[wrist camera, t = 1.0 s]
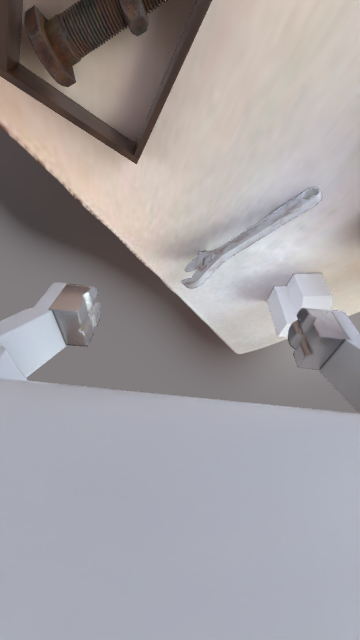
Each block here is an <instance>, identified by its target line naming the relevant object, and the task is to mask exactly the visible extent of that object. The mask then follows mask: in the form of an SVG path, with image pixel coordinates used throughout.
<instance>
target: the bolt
mask: <svg viewBox="0 0 360 640" xmlns="http://www.w3.org/2000/svg"><path fill="white" fill-rule="evenodd" d="M167 1H168V0H167ZM162 2H163V3H165V0H80V2H79V1H78V2H77V3H78V5H77V4H76V3H75V4H74V5H75V6H74V5H72V6H71V7H72V8H71V7H69V10H68V9H66V12H65V11H64V12H63V13H61V14H59V15H55V16H54V17H53V18H51V19H50V20H49V21H48V20H47V18H46V17H45V16H44V15H43V14H42V13H41V12H40V11H39V10H38V9H37V8H36V7H35V6H33V7H31V8H30V9H29V10H28V11H26V13H25V28H26V31H27V33H28V36H29V38H30V41H31V43H32V45H33V47H34V49H35V51H36V54H37V55H38V57H39V59H40V61H41V62H42V64H43V65H44V66H45V68H46V69H47V71H48V72H49V73H50V75H51V76H52V77H53V78H54V79H55V81H56V82H57V83H58V84H60V85H62V86H65V87H69V86H71V85H73V84H74V83H76V80H75V76H74V71H73V67H72V66H73V65H75V64H76V63H78V62H79V61H80V60H81V58H82V57H84V56H85V55H87V53H88V54H89V53H90V52H92V50H95V48H96V49H97V48H98V46H99V47H100V44H101V45H103V43H105V41H108V39H109V40H110V36H111V37H112V38H113V35H114V36H116V33H117V34H118V33H119V31H120V32H121V29H122V30H124V27H125V28H127V26H129V28H130V30H131V32H132V33H133V34H134V35H136V36H139V35H141V34H142V33H144V32H146V31H147V28H148V24H149V23H148V18H147V12H148V13H150V10H151V11H153V8H154V9H156V6H157V7H159V4H160V5H162Z"/></svg>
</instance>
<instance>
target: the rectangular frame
mask: <svg viewBox="0 0 360 640" xmlns="http://www.w3.org/2000/svg"><path fill="white" fill-rule="evenodd" d="M211 2H212V0H197V2H196V4H195V7H194V9H193V11H192V14H191V16H190V18H189V21H188V23H187V25H186V28H185V30H184V32H183V35H182V37H181V39H180V42H179V44H178V46H177V49H176V51H175V53H174V56H173V58H172V60H171V63H170V65H169V67H168V70H167V72H166V74H165V77H164V79H163V81H162V83H161V86H160V88H159V90H158V93H157V95H156V97H155V100H154V102H153V104H152V107H151V109H150V111H149V114H148V116H147V118H146V121H145V123H144V125H143V128H142V130H141V132H140V135H139V137H138V139H137V142H136V144H135V143H133V142H132V141H131V140H129V139H128V138H126V137H125V136H123V135H122V134H120V133H119V132H118V131H116V130H115V129H113V128H112V127H110V126H109V125H107V124H106V123H105V122H103V121H102V120H100V119H99V118H97V117H96V116H94V115H93V114H92V113H90V112H89V111H87V110H86V109H84V108H83V107H81V106H80V105H79V104H77V103H76V102H74V101H73V100H71V99H70V98H68V97H67V96H66V95H64V94H63V93H61V92H60V91H58V90H57V89H55V88H54V87H52V86H51V85H50V84H48V83H47V82H45V81H44V80H42V79H41V78H39V77H38V76H37V75H35V74H34V73H32V72H31V71H29V70H28V69H26V68H25V67H24V66H22V65H21V64H19V55H20V39H21V24H22V9H23V0H0V76H1V77H3V78H4V79H6V80H7V81H9V82H10V83H12V84H13V85H15V86H16V87H18V88H20V89H21V90H23V91H24V92H26V93H27V94H29V95H30V96H32V97H33V98H35V99H36V100H38V101H40V102H41V103H43V104H44V105H46V106H47V107H49V108H50V109H52V110H53V111H55V112H57V113H58V114H60V115H61V116H63V117H64V118H66V119H67V120H69V121H70V122H72V123H74V124H75V125H77V126H78V127H80V128H81V129H83V130H84V131H86V132H87V133H89V134H91V135H92V136H94V137H95V138H97V139H98V140H100V141H101V142H103V143H104V144H106V145H108V146H109V147H111V148H112V149H114V150H115V151H117V152H118V153H120V154H121V155H123V156H125V157H126V158H128V159H129V160H131V161H132V162H134V163H135V164H137V162H138V160H139V158H140V156H141V154H142V152H143V149H144V147H145V145H146V143H147V141H148V138H149V136H150V134H151V132H152V130H153V128H154V125H155V123H156V121H157V119H158V117H159V115H160V112H161V110H162V108H163V106H164V104H165V102H166V99H167V97H168V95H169V93H170V91H171V88H172V86H173V84H174V82H175V80H176V78H177V75H178V73H179V71H180V69H181V67H182V65H183V62H184V60H185V58H186V56H187V54H188V52H189V49H190V47H191V45H192V43H193V41H194V38H195V36H196V34H197V32H198V30H199V28H200V25H201V23H202V21H203V19H204V17H205V15H206V12H207V10H208V8H209V6H210V4H211Z"/></svg>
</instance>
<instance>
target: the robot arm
mask: <svg viewBox="0 0 360 640" xmlns="http://www.w3.org/2000/svg"><path fill="white" fill-rule="evenodd" d="M97 296H98V294H97V290H96V288H95V287H93V286H85V285H76V284H67V283H58V282H56V283H53V284H52V285H51V287H50V288H49V289H48V290H47V292H46V293H45V294H44V295H43V297H42V298H41V299H40V300H39V302H38V303H37V304H36V305H35V306H34V308H28V309H26V310H23V311H21V312H19V313H17V314H15V315H13V316H10V317H8V318H6V319H4V320H2V321H0V640H360V334H359V333H358V331H357V330H356V328H355V327H354V325H353V324H352V322H351V321H350V319H349V318H348V316H347V315H346V313H344V312H343V311H338V310H321V309H311V308H301V309H300V310H299V312H298V313H297V318H298V320H296V321H295V322H293V323H292V324H291V326H290V328H289V331H288V341H289V344H290V346H291V347H292V348H294V349H295V351H294V353H293V355H294V358H295V361H296V364H297V366H298V367H299V368H306V369H315V370H320V371H319V372H320V373H321V374H322V375H323V376H324V377H325V378H326V379H327V380H328V381H329V382H330V383H331V384H332V385H333V386H334V387H335V389H336V390H337V391H338V392H339V393H340V394H341V395H342V396H343V397H344V398H345V399H346V400H347V401H348V402H349V403H350V404H351V405H352V407H353V408H354V409H355V410H356V411H357V413H347V412H337V411H327V410H317V409H307V408H297V407H287V406H276V405H266V404H255V403H245V402H235V401H225V400H215V399H204V398H194V397H184V396H175V395H165V394H155V393H145V392H135V391H124V390H114V389H105V388H94V387H84V386H74V385H64V384H54V383H44V382H34V381H28V380H27V379H26V377H27V376H29V375H30V374H31V373H32V372H34V371H35V370H36V369H38V368H39V367H40V366H41V365H43V364H44V363H45V362H47V361H48V360H49V359H50V358H52V357H53V356H54V355H56V354H57V353H58V352H59V351H61V350H62V349H63V348H65V347H66V345H73V346H74V345H75V346H87V347H88V345H89V343H90V341H91V339H92V337H93V330H92V329H93V328H95V327H97V326H98V323H99V321H100V316H101V308H100V304H99V303H98V302H97V301H96V298H97Z"/></svg>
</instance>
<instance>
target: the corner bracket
mask: <svg viewBox="0 0 360 640" xmlns="http://www.w3.org/2000/svg"><path fill="white" fill-rule="evenodd" d="M332 302H333V294H332V292H331V290H330V288H329V286H328V284H327V282H326V280H325V278H324V276H323V274H322V273H308V274H293V276H292V278H291V279H290V281H289V283H288V285H287V286H275V287H274V288H273V290H272V292H271V294H270V296H269V298H268V300H267V303H268V307H269V310H270V313H271V317H272V320H273V323H274V327H275V330H276V333H277V337H288V331H289V328H290V326H291V324H292V323H293V322H295V321H296V320H298V318H297V313H298V312H299V310H300V309H301V308H311V309H321V310H332Z"/></svg>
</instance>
